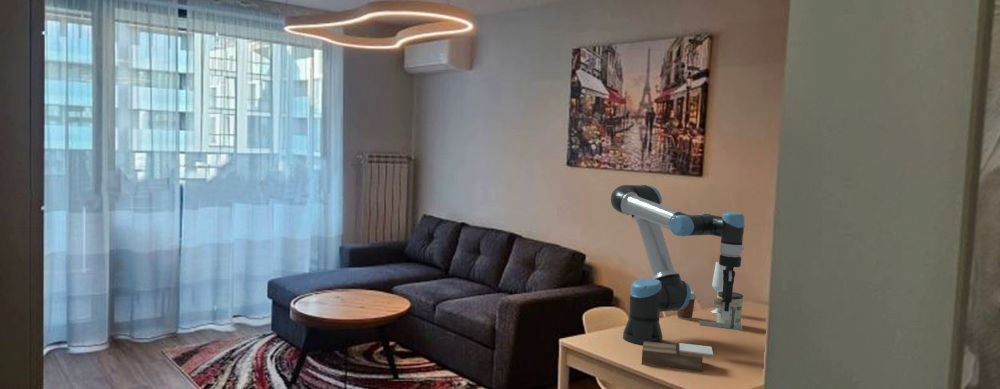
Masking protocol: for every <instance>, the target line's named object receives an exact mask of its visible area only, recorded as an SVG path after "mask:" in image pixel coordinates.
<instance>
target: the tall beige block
mask: <svg viewBox="0 0 1000 389" xmlns="http://www.w3.org/2000/svg"><path fill="white" fill-rule="evenodd" d="M712 300H713V302H712V307H713V308H714V309H717V308H722V307H723V302H721V300H724V299H721V298H717V297H713V299H712ZM730 309H731V310H732V314H731V324H725V323H717V322H716V321H707V320H706V321H705V320H698V323H699V326H700V327H701V326H702V327H709V328H719V329H725V330H726V329H727V330H733V331H735V330H736V331H744V328H743V326H742V324H741V325H734V318H735V310H737V300H732V302H731V307H730Z"/></svg>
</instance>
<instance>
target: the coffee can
mask: <svg viewBox="0 0 1000 389" xmlns="http://www.w3.org/2000/svg"><path fill="white" fill-rule="evenodd" d="M717 296H718V298H721V299H723V298H722V292H717ZM743 298H744V294H742V293H739V292H735V291H732V300H737V310H735V318H734V325H741V326H742V324H741V323H742V311H743V310H742V309H743ZM716 309H717V314H716V321H715V322H717V323H725V324H731V314H732V310H731V309H730V319H729V320H723V319H721V318H722V317H721V308H716Z"/></svg>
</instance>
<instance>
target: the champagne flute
mask: <svg viewBox="0 0 1000 389" xmlns="http://www.w3.org/2000/svg"><path fill="white" fill-rule="evenodd" d="M714 266H715V267H714V270H713V271H714V272H713V276H712V283H711V286H712V288H713V290H714V291H715V292H716V293H718V292H723V270H725V267H726V266H722V265H720V264H719V261H716V262H715V265H714ZM716 298H718V295H717V297H716ZM710 312H712V313H717V308H714V309H713V310H711V311H710ZM712 313H711V314H712Z"/></svg>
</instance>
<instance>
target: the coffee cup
mask: <svg viewBox="0 0 1000 389" xmlns="http://www.w3.org/2000/svg"><path fill="white" fill-rule="evenodd" d="M696 299H697V296H696V294H695V292H694V291H693V290H691V299H690V301H689V304H688V305H687V306H686V307H685V308H683V309H680V310H677V311H676V312H677V313H676V317H677V318H678V319H679V320H686V321H691V320H692V318H693V315H694V314H693V313H694V307H695V300H696Z"/></svg>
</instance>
